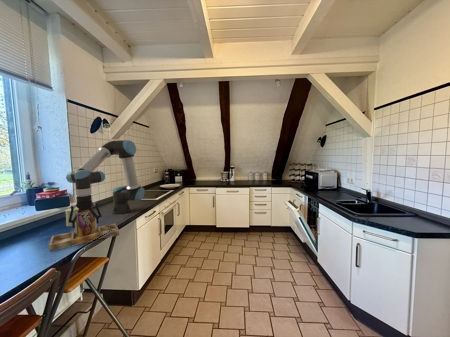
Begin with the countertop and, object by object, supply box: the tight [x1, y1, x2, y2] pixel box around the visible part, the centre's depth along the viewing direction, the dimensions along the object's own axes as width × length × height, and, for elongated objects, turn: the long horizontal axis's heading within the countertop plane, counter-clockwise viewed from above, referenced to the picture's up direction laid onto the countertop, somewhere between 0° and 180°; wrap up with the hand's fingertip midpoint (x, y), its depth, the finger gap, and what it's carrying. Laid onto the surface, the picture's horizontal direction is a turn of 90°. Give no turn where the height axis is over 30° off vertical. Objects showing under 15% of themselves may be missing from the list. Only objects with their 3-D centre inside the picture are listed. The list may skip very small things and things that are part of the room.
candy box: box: [76, 208, 96, 238], centre depth 123 cm, size 9×4×15 cm, turn 140°
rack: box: [48, 223, 120, 252], centre depth 123 cm, size 34×15×4 cm, turn 126°
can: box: [64, 207, 79, 227], centre depth 148 cm, size 9×9×12 cm
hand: (86, 230), depth 123 cm, fingers closed on candy box, 9 cm apart
